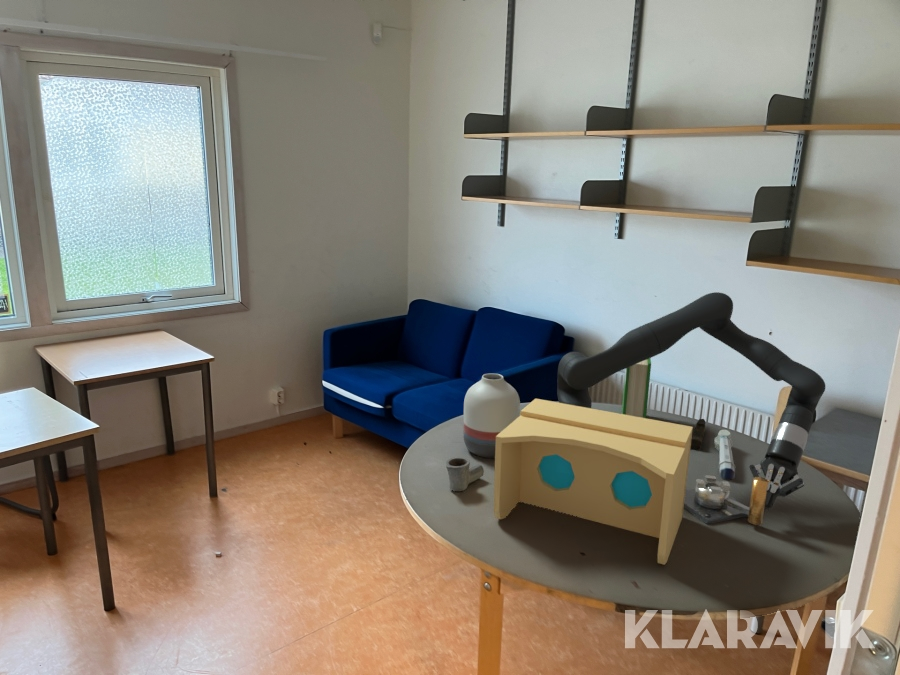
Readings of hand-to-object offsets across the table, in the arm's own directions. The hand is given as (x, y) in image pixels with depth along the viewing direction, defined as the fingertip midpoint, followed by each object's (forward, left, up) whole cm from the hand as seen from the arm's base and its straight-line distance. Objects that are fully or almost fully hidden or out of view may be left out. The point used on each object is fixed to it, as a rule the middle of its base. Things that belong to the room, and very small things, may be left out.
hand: (764, 507), depth 156 cm
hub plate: (-6, +12, -5) cm, 14 cm away
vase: (-47, +61, -5) cm, 77 cm away
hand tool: (+20, +49, -5) cm, 53 cm away
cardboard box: (-39, +15, -5) cm, 42 cm away
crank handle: (-4, +7, -3) cm, 9 cm away
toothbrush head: (+17, +32, -5) cm, 37 cm away
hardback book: (+8, +67, -5) cm, 67 cm away
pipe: (-62, +41, -5) cm, 75 cm away
